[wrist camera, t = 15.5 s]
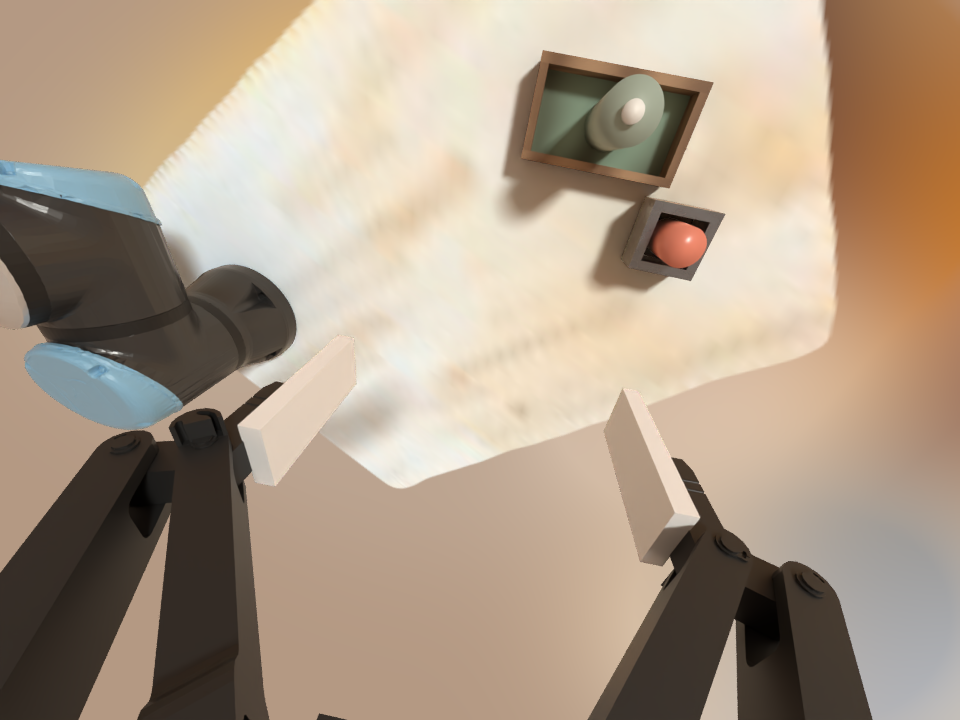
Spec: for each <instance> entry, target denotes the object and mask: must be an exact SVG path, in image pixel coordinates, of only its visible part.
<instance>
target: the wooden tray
mask: <svg viewBox="0 0 960 720" xmlns="http://www.w3.org/2000/svg"><path fill="white" fill-rule="evenodd" d="M635 74H644V75H648V76H650V77H652V78H653V79H655V80H656V81H657V82H658V83H659V85H660V86H661V89H662V91H663V95H664V111H663V115H662V118H661V120H660V123H659V125H658V126H657V128H656V130H655V131H654V132H653V133H652V135H651V136H650V137H649V138H648V139H646V140H645V141H644V142H642V143H640V144H638V145H636V146H633V147H629V148H623V149H618V150H612V151H606V152H600V151H597V150H594V149H593V148H592V147H591V146H590V145H589V144H588V142H587V141H586V138H585V133H584V126H585V121H586V118H587V116H588V114H589V112H590V110H591V109H592V108H593V107H594V106H595V104H597V103H598V102H599V101H600V100H601V99H602V98H603V97H604V96H605V95H606V94H607V93H608V92H609V91H610V90H611V89H612V88H613V87H614V86H615V85H616V84H617V83H618V82H620V81H621V80H623V79H624V78H626V77H628V76H631V75H635ZM712 85H713V82H708V81H702V80H697V79H692V78H687V77H681V76H676V75H671V74H665V73H660V72H655V71H650V70H644V69H639V68H634V67H629V66H623V65H618V64H613V63H607V62H602V61H597V60H592V59H586V58H581V57H576V56H570V55H565V54H560V53H555V52H549V51H544V50H543V52H542V57H541V62H540V67H539V72H538V77H537V82H536V87H535V91H534V96H533V101H532V106H531V111H530V116H529V121H528V126H527V131H526V136H525V141H524V146H523V151H522V155H521V158H522V159H527V160H532V161H536V162H541V163H546V164H551V165H556V166H561V167H566V168H571V169H576V170H581V171H586V172H591V173H596V174H600V175H605V176H610V177H615V178H620V179H625V180H630V181H635V182H640V183H645V184H650V185H655V186H660V187H665V188H670V185H671V183H672V181H673V178H674V176H675V174H676V171H677V169H678V166H679V164H680V162H681V159H682V157H683V154H684V152H685V150H686V147H687V145H688V142H689V140H690V138H691V135H692V133H693V131H694V128H695V126H696V123H697V121H698V119H699V116H700V114H701V111H702V109H703V107H704V104H705V102H706V99H707V97H708V95H709V92H710V90H711V88H712Z"/></svg>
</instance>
